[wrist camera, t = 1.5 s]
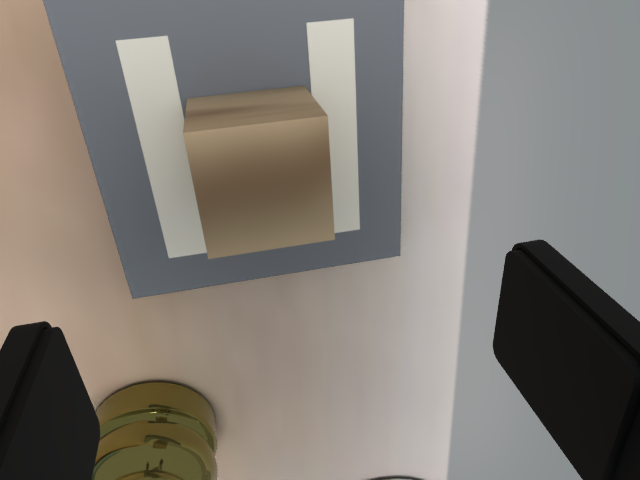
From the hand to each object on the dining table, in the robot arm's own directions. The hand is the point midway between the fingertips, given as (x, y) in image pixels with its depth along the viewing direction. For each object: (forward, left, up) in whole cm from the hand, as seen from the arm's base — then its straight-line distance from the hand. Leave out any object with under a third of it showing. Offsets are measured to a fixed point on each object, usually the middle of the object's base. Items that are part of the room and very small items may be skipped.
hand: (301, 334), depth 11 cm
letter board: (0, 0, -15) cm, 15 cm away
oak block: (0, 0, -14) cm, 14 cm away
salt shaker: (-6, +18, -16) cm, 25 cm away
